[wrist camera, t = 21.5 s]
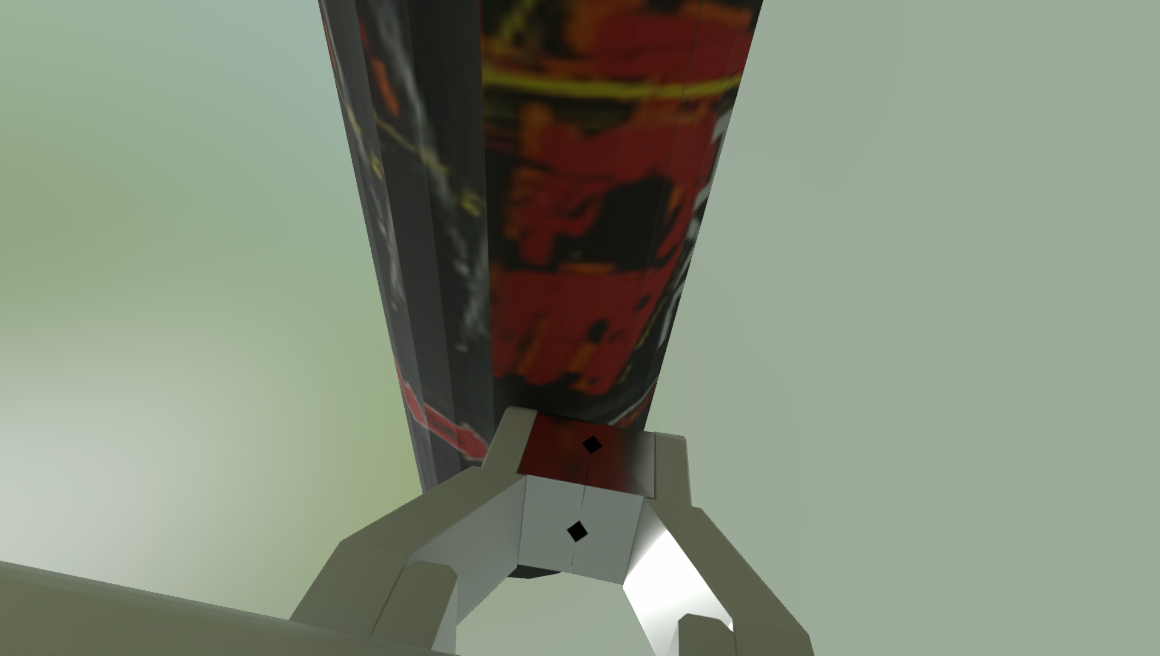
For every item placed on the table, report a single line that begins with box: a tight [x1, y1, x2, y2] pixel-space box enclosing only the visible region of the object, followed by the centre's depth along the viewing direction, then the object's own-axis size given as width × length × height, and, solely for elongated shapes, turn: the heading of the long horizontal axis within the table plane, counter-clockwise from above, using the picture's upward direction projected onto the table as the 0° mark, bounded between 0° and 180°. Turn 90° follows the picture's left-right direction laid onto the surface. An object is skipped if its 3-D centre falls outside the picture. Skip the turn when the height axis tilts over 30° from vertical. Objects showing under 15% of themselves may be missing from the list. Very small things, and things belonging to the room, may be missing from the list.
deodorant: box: [318, 0, 763, 579], centre depth 11 cm, size 6×6×15 cm
